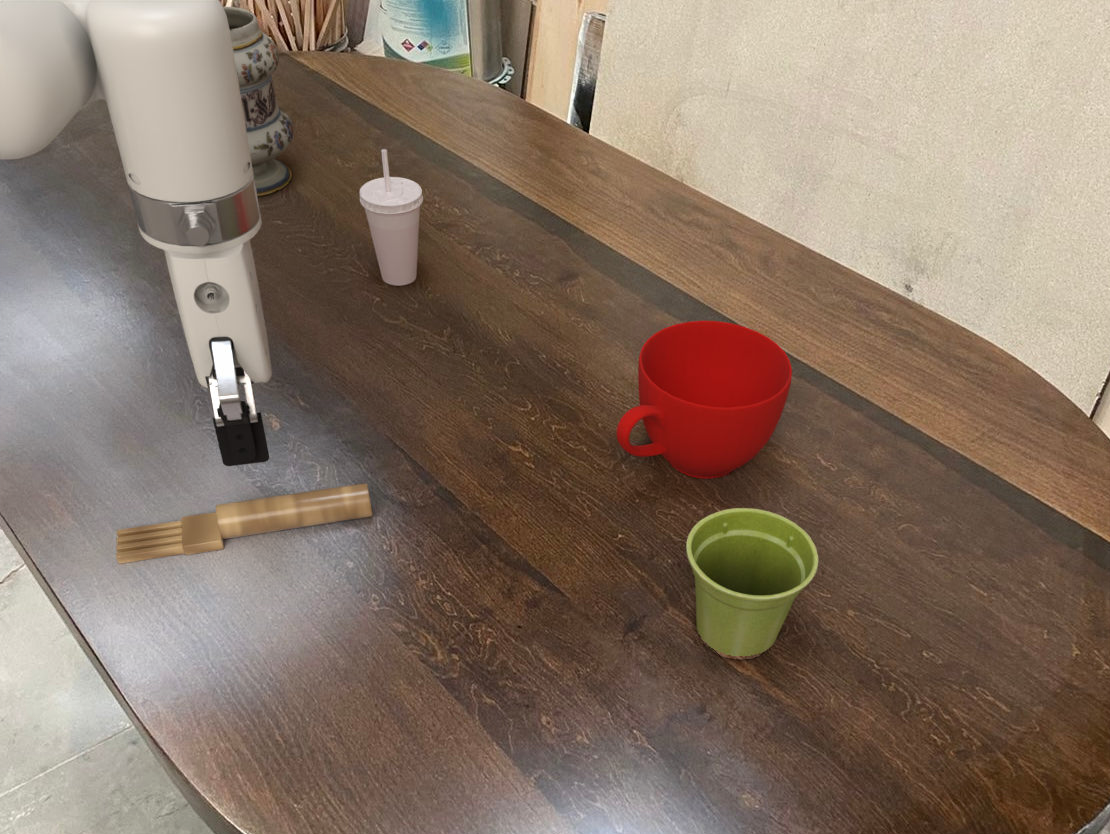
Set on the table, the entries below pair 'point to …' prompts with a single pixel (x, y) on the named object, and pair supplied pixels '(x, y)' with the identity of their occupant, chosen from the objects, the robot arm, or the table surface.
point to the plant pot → (747, 576)
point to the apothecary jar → (260, 100)
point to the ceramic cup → (707, 396)
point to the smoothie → (393, 224)
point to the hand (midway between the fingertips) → (242, 420)
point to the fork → (242, 522)
